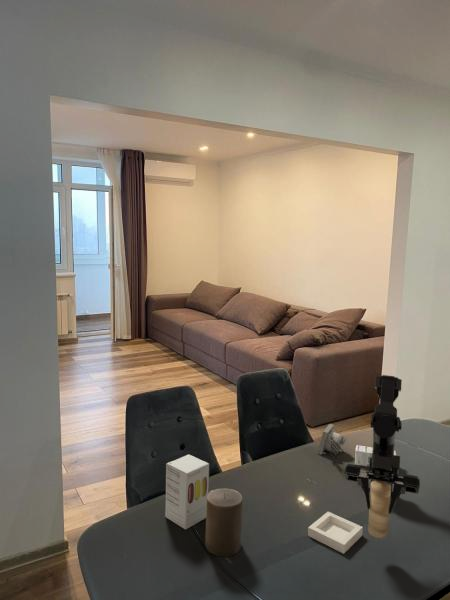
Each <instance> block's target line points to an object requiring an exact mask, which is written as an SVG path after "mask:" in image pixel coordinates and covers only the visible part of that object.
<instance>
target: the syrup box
mask: <svg viewBox="0 0 450 600" xmlns="http://www.w3.org/2000/svg"><path fill="white" fill-rule="evenodd" d="M372 450H373V446H372V447H371V446H364V445H356V446H355V451H354V453H355V457H354V459H355V460H354V465H358V466H361V467H367V468H370V458H372ZM394 455H396V456H397V452H396V450H394Z"/></svg>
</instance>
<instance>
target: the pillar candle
mask: <svg viewBox="0 0 450 600" xmlns="http://www.w3.org/2000/svg"><path fill="white" fill-rule="evenodd" d="M242 518H243V496H242V494H241V493H240V492H239V491H238V490H235V489H230V488H216V489H211V490H210V491H209V492H208V495H207V510H206V518H205V537H204V538H205V539H204V541H205V542H204V543H205V544H204V545H205V548H206V550H207V551H208V552H209V553H210V554H211V555H214V556H217V557H227V558H228V557H231V556H233V555H235V554H237V553H238V552H240V550H241V548H242V524H243V523H242V521H243V520H242Z"/></svg>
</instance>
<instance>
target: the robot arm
mask: <svg viewBox="0 0 450 600" xmlns="http://www.w3.org/2000/svg"><path fill="white" fill-rule="evenodd" d="M374 388H375V389H376V393H377V394H376V395H377V396H378V398H379V403H378V404H376V406H375V407H374V413H373V412H372V413H371V418H370V428H372V439H373V440H372V448H373V450H372V458H370V467H368V468H369V471H367V470H362V466H361V465H356V464H352V463H347V464H346V465H345V468H344V475H345V480H346V481H349V482H354V483H357V485H358V486H361V490H362V492H363V496H364V498H365V503H366V507H367V510H369V506H370V488H371V487H370V484H369V480H370V483H371V482H372V481H376V480H378V481H384V482H386V483H388V484H390V486H391V496H390V511H389V515H391V514H393V513H392V512H393V510H394V508H395V505H396V503H397V502H398V499H399V498H400V496H401V495H405V494H406V493H411V494H419V491H420V487H421V483H420V482H421V479H420V478H419V477H418V476H417V475H413V474H406V473H403V475H402V476H403V477H399V474H400V473H399V472H400V471H399V470H400V468H401V467H400V465H401V464H400V463H401V456H400V455H397V454H396V455H394V451H395V446H396V445H395V441H396V433H399V432H400V431H401V430H402V423H403V422H402V420H401V418H400V416H398V408H397V407H395V406H394V403H395V402H396V400H397V399H398V397H399V393H400V392H402V379H400V378H398V377H397V376H394V375H386V374H382V375H378V376H375V380H374Z"/></svg>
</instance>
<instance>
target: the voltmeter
mask: <svg viewBox="0 0 450 600" xmlns="http://www.w3.org/2000/svg"><path fill="white" fill-rule="evenodd" d="M334 429H335V430H336V429H337V428H336V427H335V424H332V423H329V424H328V425H327V426H326V428H324V430H323V432H322V435H321V438H320V442H319V445H318V449H317V454H318V455H320V456H322V455H323V454H324V455H326V452H325V451H328V452H330V453H329V454H330V460H332V461H331V463H332V465H333V466H335V465H336V467H337V468H338V469H339V470H340V471H341V472H342V469H341V468H340V466H339V464H338V463H337V462H340V463H341V464H342V465H343V461H342V460H341V459H340V458H339V457H338V456H340V454H339V450H340V451H341V452H342V454H345V451H344V449H343V448H342V447H341V446H343V445H344V444H345V443H346V440H347V438H345V437H344V436H343V435H342V434H339V433H337V432H335V431H333V430H334ZM333 458H334V459H333Z"/></svg>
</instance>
